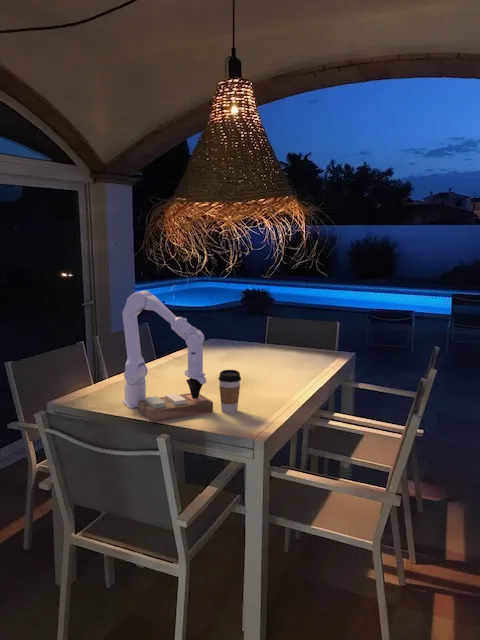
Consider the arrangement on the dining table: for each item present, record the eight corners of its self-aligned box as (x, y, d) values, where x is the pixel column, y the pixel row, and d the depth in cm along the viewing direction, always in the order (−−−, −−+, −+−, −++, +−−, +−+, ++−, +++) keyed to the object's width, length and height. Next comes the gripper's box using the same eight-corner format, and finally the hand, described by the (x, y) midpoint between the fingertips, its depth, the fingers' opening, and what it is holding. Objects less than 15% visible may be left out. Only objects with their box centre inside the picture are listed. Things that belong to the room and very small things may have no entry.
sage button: (145, 408, 198) (145, 397, 197) (156, 406, 200) (156, 396, 199) (154, 415, 190) (153, 404, 189) (165, 413, 192) (165, 402, 192)
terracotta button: (185, 405, 206) (185, 395, 205) (195, 404, 208) (195, 394, 207) (194, 412, 198) (194, 401, 198) (205, 410, 200) (205, 400, 200)
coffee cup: (240, 407, 204) (241, 369, 202) (240, 415, 196) (241, 375, 194) (218, 407, 204) (218, 369, 202) (217, 414, 196) (218, 375, 194)
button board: (138, 410, 199) (138, 400, 199) (196, 402, 211) (196, 392, 210) (151, 422, 187) (151, 411, 187) (212, 412, 199) (213, 401, 198)
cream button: (165, 405, 202) (165, 394, 201) (176, 403, 204) (176, 393, 203) (174, 411, 194) (174, 401, 193) (186, 410, 196) (186, 399, 196)
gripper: (213, 365, 196) (213, 401, 198) (196, 358, 209) (196, 391, 211) (196, 367, 193) (196, 404, 195) (179, 359, 205) (180, 394, 207)
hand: (195, 397), depth 202 cm, fingers closed, pressing on terracotta button
